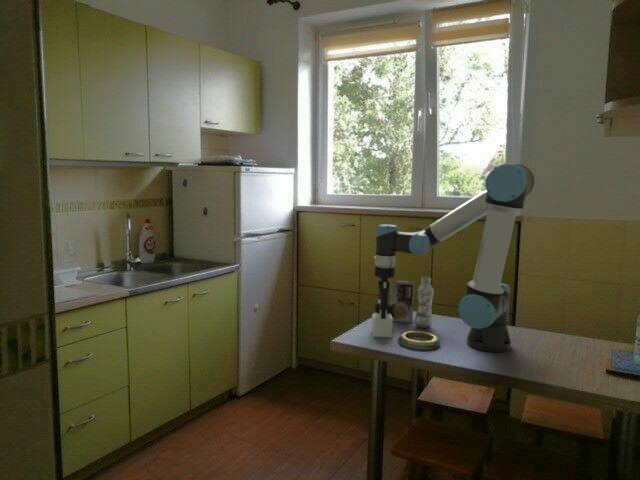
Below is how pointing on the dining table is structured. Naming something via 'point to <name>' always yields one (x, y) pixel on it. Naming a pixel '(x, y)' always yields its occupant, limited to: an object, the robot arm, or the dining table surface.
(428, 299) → the plastic bottle
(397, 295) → the coffee box
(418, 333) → the ring
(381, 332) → the medicine bottle
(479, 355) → the dining table surface
